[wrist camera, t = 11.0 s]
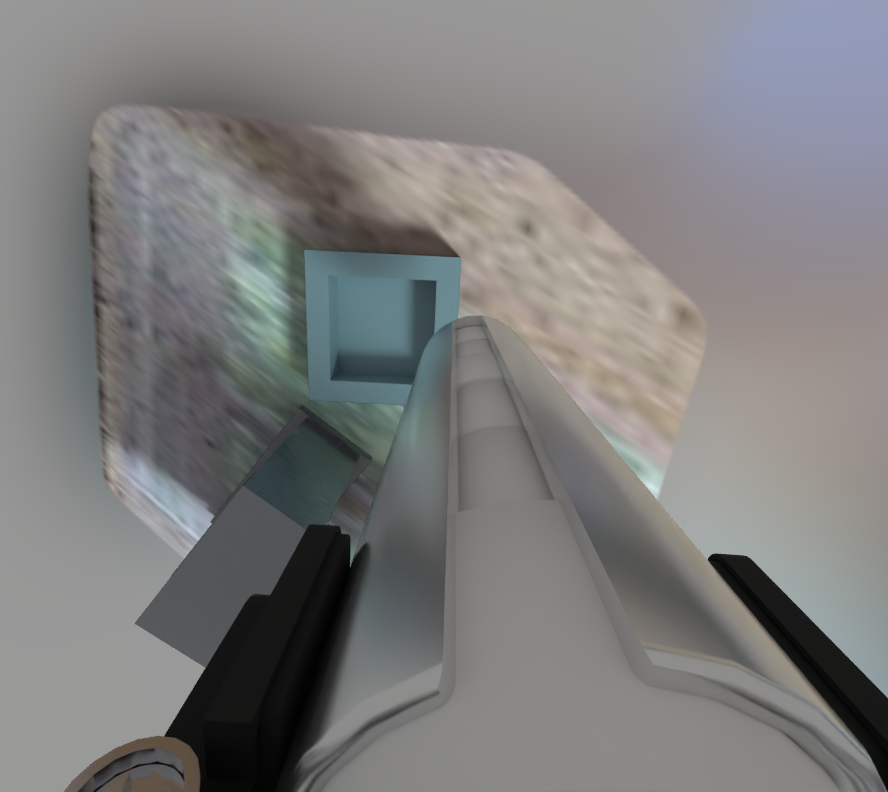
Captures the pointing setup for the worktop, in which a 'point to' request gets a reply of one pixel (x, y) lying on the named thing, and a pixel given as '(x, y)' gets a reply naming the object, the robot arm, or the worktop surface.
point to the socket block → (373, 321)
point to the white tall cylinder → (544, 618)
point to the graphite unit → (254, 535)
